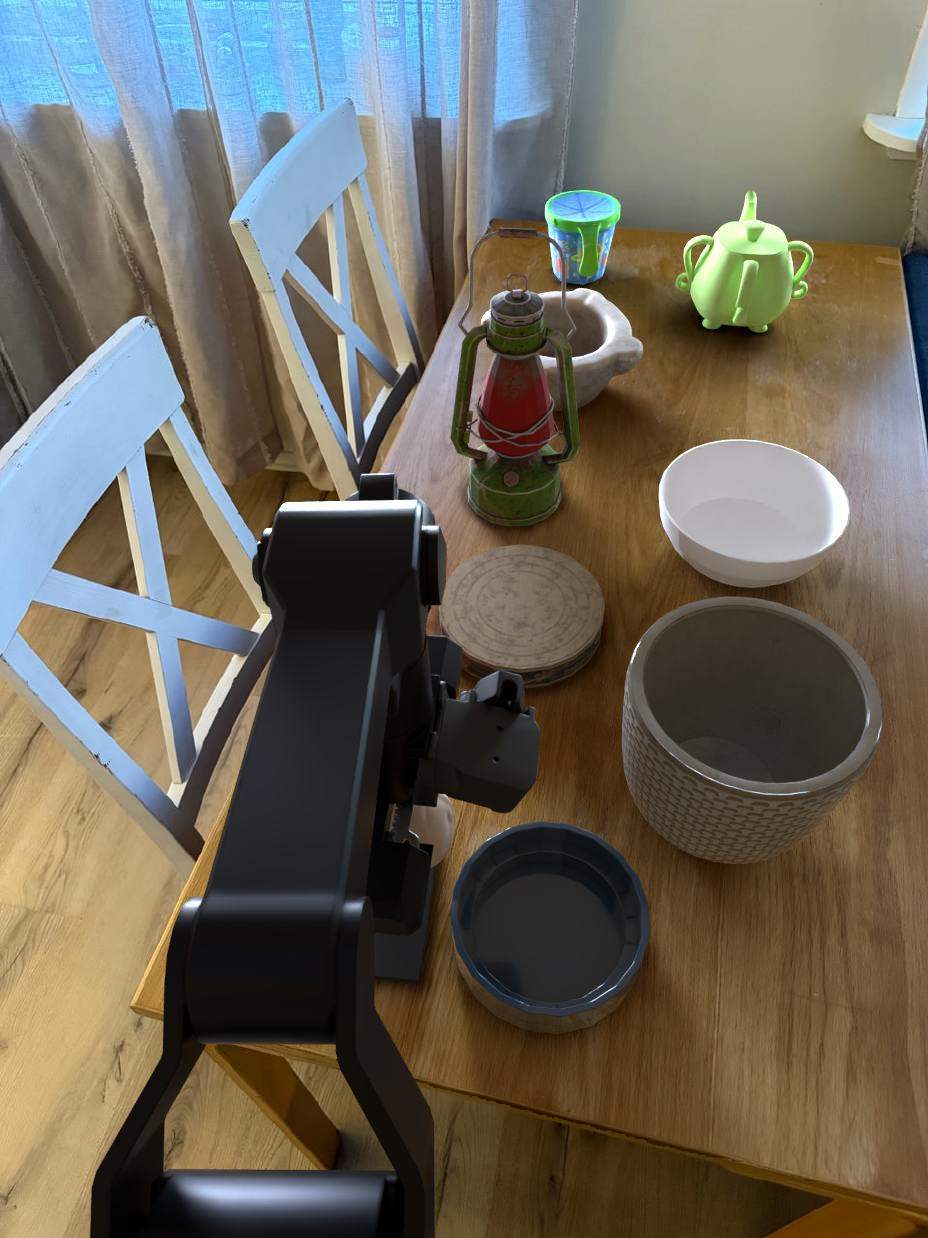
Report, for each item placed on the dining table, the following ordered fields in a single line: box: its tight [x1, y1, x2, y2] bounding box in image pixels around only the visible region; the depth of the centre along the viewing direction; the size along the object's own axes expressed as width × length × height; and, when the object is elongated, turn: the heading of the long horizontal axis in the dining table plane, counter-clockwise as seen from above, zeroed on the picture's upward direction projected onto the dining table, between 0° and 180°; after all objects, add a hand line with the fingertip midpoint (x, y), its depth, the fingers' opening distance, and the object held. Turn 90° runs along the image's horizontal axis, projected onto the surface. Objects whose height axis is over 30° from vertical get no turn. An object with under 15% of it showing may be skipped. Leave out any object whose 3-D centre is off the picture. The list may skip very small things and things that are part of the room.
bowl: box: [658, 438, 851, 589], centre depth 88 cm, size 18×18×7 cm
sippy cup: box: [544, 189, 621, 286], centre depth 125 cm, size 16×10×10 cm
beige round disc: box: [438, 543, 606, 689], centre depth 84 cm, size 16×16×3 cm
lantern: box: [449, 227, 582, 527], centre depth 86 cm, size 14×11×30 cm
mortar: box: [480, 287, 644, 412], centre depth 106 cm, size 17×17×9 cm
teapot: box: [675, 190, 814, 333], centre depth 116 cm, size 16×14×13 cm
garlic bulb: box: [389, 794, 456, 868], centre depth 56 cm, size 7×6×8 cm
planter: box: [621, 596, 884, 865], centre depth 66 cm, size 17×17×16 cm
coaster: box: [374, 865, 437, 985], centre depth 67 cm, size 12×12×1 cm
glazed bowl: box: [449, 820, 651, 1035], centre depth 63 cm, size 14×14×4 cm
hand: (404, 833), depth 57 cm, fingers closed on garlic bulb, 6 cm apart
